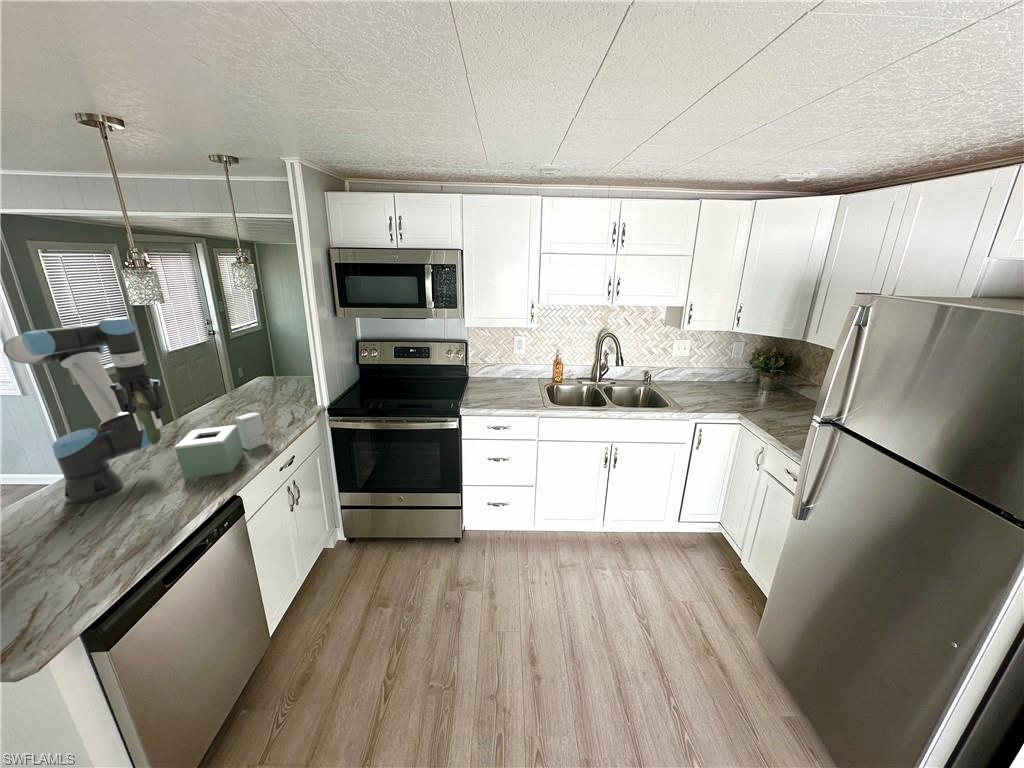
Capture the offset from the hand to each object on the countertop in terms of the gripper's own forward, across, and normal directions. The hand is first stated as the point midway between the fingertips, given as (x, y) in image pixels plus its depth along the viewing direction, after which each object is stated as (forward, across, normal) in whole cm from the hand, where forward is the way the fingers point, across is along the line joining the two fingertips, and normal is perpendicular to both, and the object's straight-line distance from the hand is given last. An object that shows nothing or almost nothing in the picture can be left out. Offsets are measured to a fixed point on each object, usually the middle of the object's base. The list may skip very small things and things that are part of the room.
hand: (150, 428), depth 141 cm
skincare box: (+26, +19, +32) cm, 45 cm away
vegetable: (+7, 0, 0) cm, 7 cm away
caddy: (+25, +9, +16) cm, 31 cm away
